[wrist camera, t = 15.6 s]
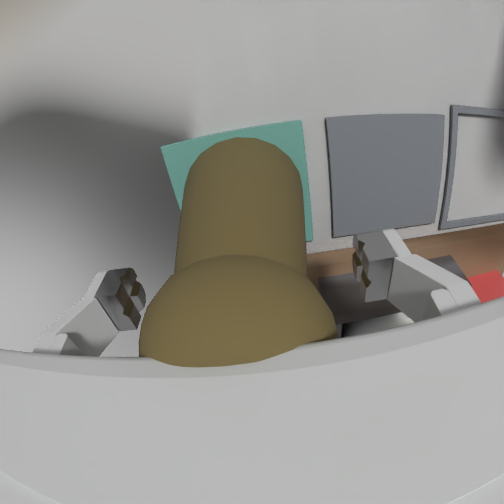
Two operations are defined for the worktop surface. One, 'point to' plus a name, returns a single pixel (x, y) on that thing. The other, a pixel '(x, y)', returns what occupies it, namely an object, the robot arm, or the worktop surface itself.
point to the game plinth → (429, 247)
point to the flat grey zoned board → (361, 167)
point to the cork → (237, 265)
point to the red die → (488, 285)
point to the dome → (374, 324)
